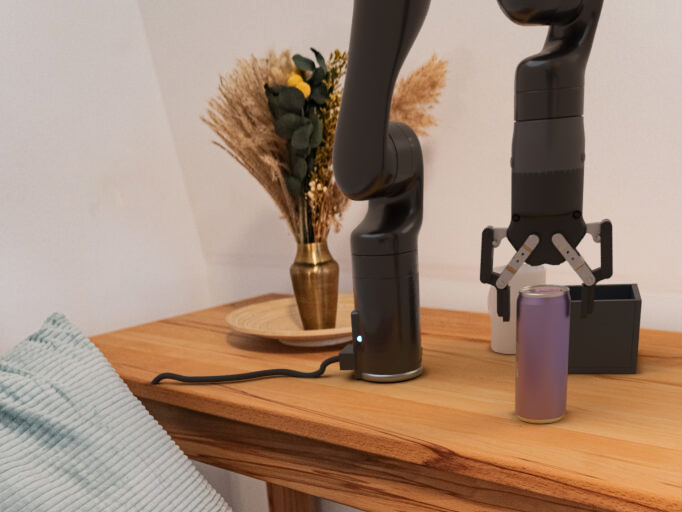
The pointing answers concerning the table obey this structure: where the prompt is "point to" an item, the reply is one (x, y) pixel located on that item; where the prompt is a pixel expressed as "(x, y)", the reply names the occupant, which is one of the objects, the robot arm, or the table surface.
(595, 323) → the waste bin
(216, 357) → the table surface
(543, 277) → the mug
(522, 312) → the beverage can
